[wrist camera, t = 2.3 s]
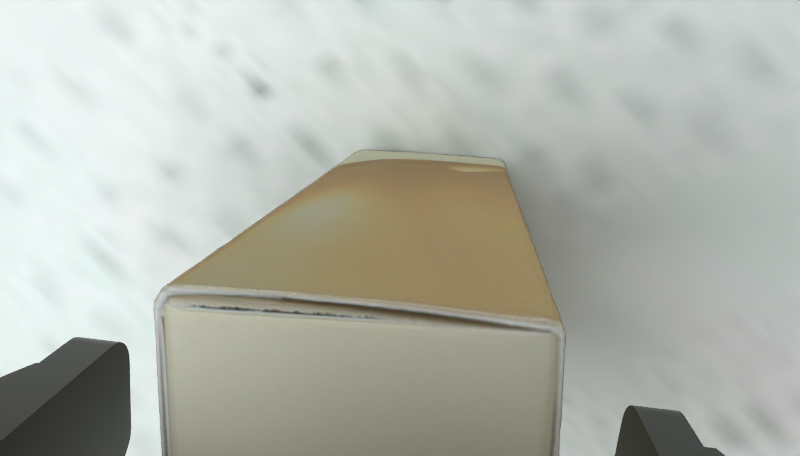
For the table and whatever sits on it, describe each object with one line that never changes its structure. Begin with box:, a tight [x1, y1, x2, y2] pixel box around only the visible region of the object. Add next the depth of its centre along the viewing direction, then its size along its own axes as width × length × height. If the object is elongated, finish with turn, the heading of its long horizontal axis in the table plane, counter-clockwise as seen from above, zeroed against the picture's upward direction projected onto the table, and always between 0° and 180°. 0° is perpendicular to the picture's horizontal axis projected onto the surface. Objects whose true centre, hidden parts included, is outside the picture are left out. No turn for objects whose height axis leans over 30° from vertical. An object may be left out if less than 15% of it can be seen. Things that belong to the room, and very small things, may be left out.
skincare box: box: [154, 150, 566, 456], centre depth 13 cm, size 6×4×12 cm
